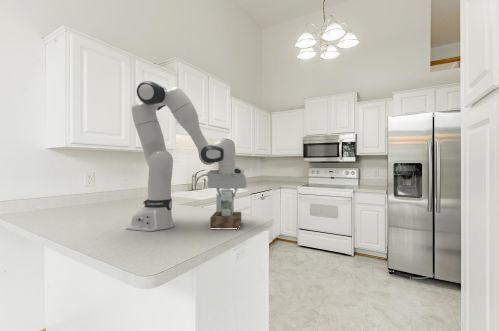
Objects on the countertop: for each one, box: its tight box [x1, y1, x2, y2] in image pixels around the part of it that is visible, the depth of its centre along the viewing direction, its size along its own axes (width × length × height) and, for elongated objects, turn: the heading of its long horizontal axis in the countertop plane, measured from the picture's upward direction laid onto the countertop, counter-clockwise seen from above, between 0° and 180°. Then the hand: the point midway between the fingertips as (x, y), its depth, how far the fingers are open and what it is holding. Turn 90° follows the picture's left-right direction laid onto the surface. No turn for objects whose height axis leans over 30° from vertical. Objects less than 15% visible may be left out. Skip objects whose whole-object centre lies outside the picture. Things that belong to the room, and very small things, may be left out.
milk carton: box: [215, 188, 235, 212], centre depth 137 cm, size 7×7×19 cm
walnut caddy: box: [209, 211, 242, 229], centre depth 124 cm, size 14×14×6 cm
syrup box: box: [221, 189, 234, 216], centre depth 124 cm, size 6×6×14 cm
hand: (227, 196), depth 124 cm, fingers closed on syrup box, 6 cm apart
